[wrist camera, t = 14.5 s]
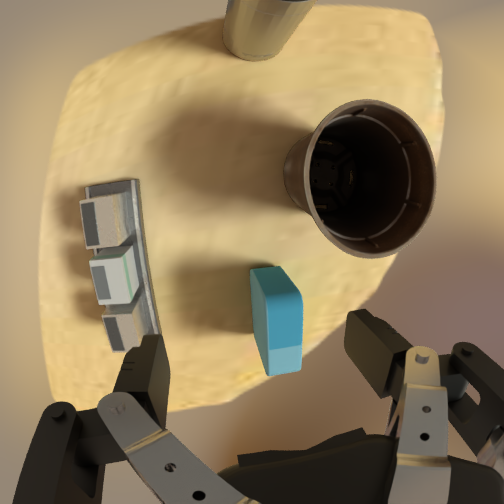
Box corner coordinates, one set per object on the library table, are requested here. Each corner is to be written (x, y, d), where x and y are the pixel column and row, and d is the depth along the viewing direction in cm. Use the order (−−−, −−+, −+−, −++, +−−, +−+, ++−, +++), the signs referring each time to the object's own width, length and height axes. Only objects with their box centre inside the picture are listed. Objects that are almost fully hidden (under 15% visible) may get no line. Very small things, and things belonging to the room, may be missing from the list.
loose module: (103, 248, 37) (88, 261, 31) (132, 245, 38) (120, 258, 32) (111, 287, 39) (98, 305, 33) (139, 285, 39) (129, 303, 33)
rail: (88, 186, 36) (65, 190, 28) (139, 179, 37) (124, 180, 29) (116, 334, 42) (104, 361, 35) (161, 332, 43) (155, 360, 36)
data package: (280, 330, 47) (301, 375, 35) (253, 334, 46) (268, 381, 35) (278, 262, 43) (304, 295, 32) (248, 266, 43) (264, 300, 31)
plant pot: (270, 232, 42) (307, 268, 27) (263, 121, 37) (298, 92, 22) (367, 223, 44) (433, 250, 29) (364, 124, 39) (432, 110, 24)
